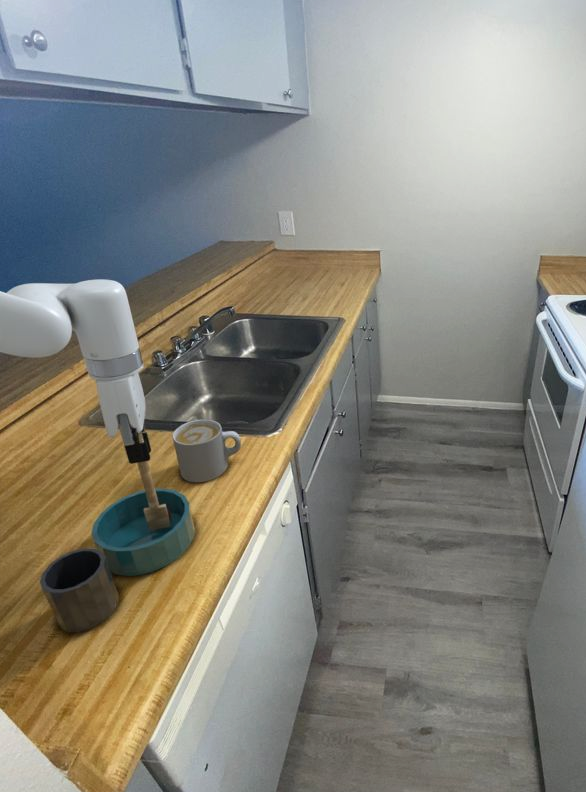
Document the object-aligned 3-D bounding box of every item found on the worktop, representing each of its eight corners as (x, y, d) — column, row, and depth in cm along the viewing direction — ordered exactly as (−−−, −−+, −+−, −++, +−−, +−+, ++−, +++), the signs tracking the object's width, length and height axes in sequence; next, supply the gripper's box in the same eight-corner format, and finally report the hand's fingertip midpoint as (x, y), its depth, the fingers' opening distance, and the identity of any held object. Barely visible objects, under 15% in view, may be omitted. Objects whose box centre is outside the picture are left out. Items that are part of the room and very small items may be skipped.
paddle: (149, 532, 88) (121, 434, 78) (149, 526, 89) (122, 429, 79) (170, 528, 89) (145, 430, 79) (170, 522, 90) (146, 425, 80)
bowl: (94, 587, 79) (85, 561, 76) (107, 523, 92) (98, 499, 89) (195, 560, 84) (189, 536, 82) (193, 503, 97) (188, 481, 94)
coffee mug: (176, 484, 102) (167, 447, 97) (185, 457, 111) (177, 421, 106) (241, 477, 105) (235, 440, 100) (244, 451, 113) (239, 416, 109)
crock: (53, 640, 71) (33, 600, 66) (64, 595, 77) (47, 556, 73) (115, 621, 74) (100, 582, 69) (121, 580, 80) (107, 542, 76)
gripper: (94, 344, 78) (121, 437, 87) (76, 387, 65) (110, 491, 74) (145, 339, 81) (166, 429, 89) (137, 380, 68) (163, 480, 76)
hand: (140, 456), depth 81 cm, fingers closed on paddle, 1 cm apart
